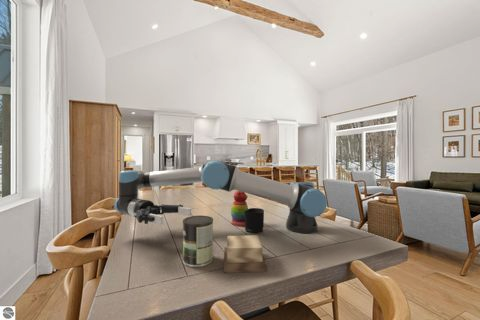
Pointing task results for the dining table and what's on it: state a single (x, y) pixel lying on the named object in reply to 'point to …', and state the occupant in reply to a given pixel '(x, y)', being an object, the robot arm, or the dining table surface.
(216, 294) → the dining table surface
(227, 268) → the plinth
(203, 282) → the dining table surface
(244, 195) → the stacking bear
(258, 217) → the pen holder
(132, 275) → the dining table surface
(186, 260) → the coffee can
